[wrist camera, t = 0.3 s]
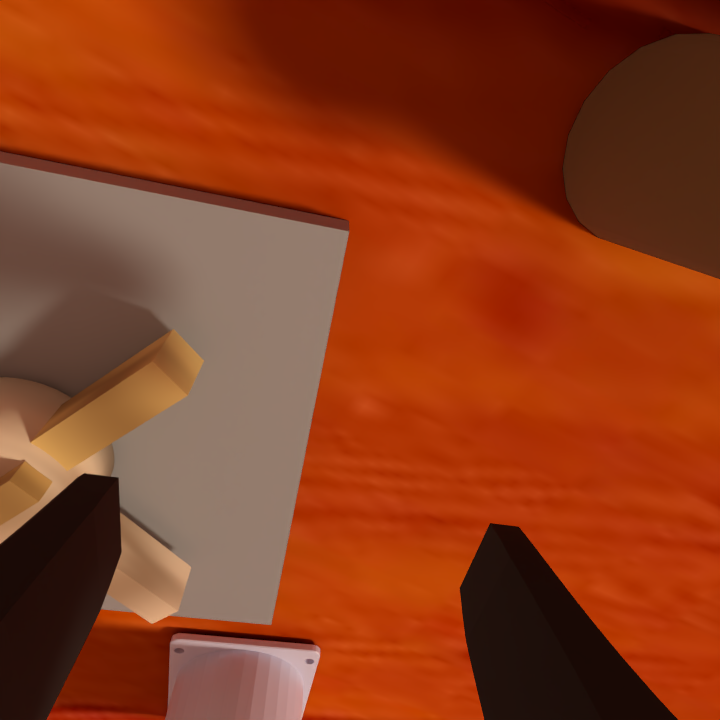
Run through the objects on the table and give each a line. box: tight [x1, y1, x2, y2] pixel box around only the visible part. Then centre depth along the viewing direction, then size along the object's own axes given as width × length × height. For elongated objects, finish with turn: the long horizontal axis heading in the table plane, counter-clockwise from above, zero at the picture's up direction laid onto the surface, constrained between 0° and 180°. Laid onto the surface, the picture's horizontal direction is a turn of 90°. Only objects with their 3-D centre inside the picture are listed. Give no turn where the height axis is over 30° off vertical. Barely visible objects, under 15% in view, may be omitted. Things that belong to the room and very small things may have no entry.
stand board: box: [0, 151, 349, 625], centre depth 19 cm, size 20×20×2 cm
